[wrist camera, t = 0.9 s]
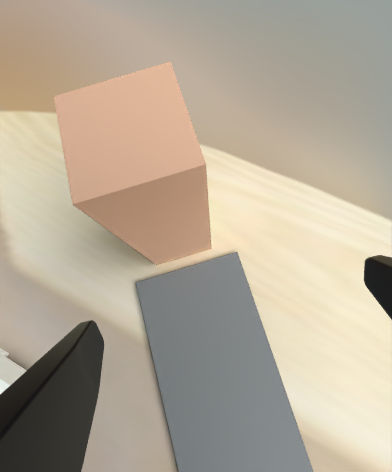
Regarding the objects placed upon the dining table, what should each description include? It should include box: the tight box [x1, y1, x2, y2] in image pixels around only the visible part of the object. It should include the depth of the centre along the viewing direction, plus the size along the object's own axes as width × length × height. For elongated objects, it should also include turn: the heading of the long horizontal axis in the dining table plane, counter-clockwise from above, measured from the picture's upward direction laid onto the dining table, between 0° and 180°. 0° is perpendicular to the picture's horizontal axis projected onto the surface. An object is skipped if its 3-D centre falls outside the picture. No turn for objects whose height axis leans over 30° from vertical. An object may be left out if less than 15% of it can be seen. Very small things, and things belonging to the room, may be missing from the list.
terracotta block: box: [54, 62, 211, 265], centre depth 17 cm, size 5×5×14 cm
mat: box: [136, 252, 313, 472], centre depth 20 cm, size 16×9×1 cm, turn 17°
